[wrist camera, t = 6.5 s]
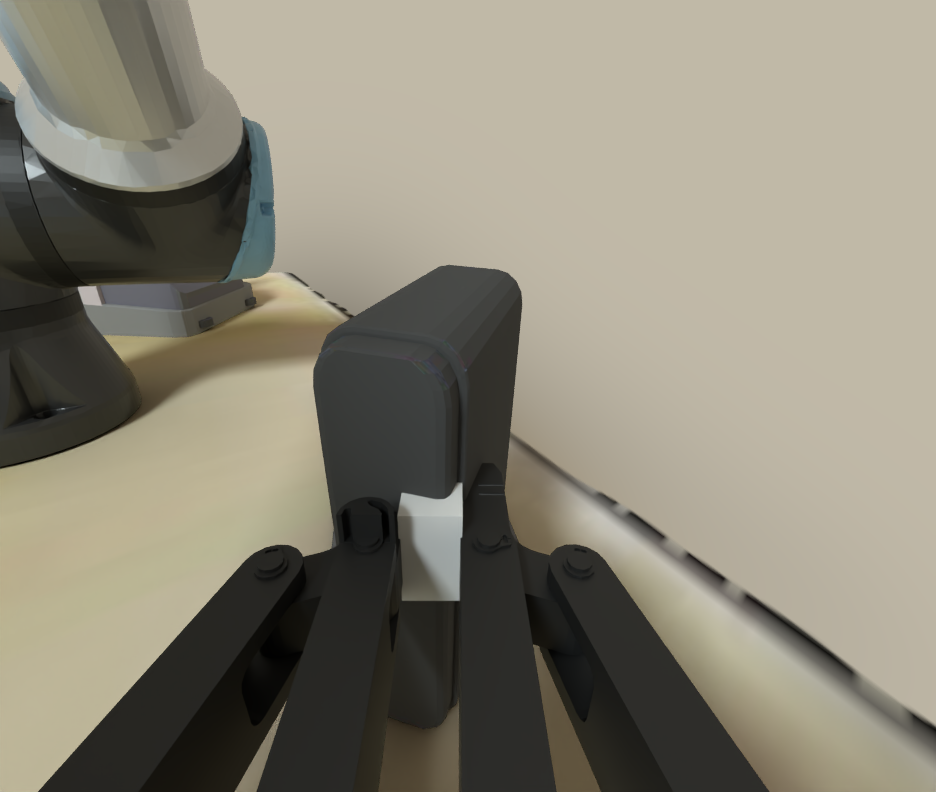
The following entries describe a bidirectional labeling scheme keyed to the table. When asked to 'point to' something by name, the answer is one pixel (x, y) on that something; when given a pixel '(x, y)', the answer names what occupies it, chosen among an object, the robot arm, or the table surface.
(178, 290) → the grey tapered box
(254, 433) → the table surface
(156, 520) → the table surface
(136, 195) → the robot arm
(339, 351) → the card reader
